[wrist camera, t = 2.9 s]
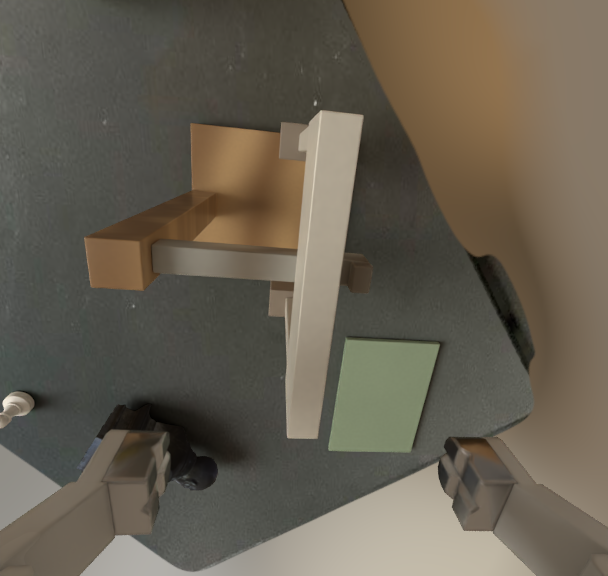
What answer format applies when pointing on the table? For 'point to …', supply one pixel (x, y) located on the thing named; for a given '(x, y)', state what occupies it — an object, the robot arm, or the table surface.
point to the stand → (218, 220)
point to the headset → (315, 258)
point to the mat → (381, 394)
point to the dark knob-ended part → (183, 459)
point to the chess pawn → (15, 406)
